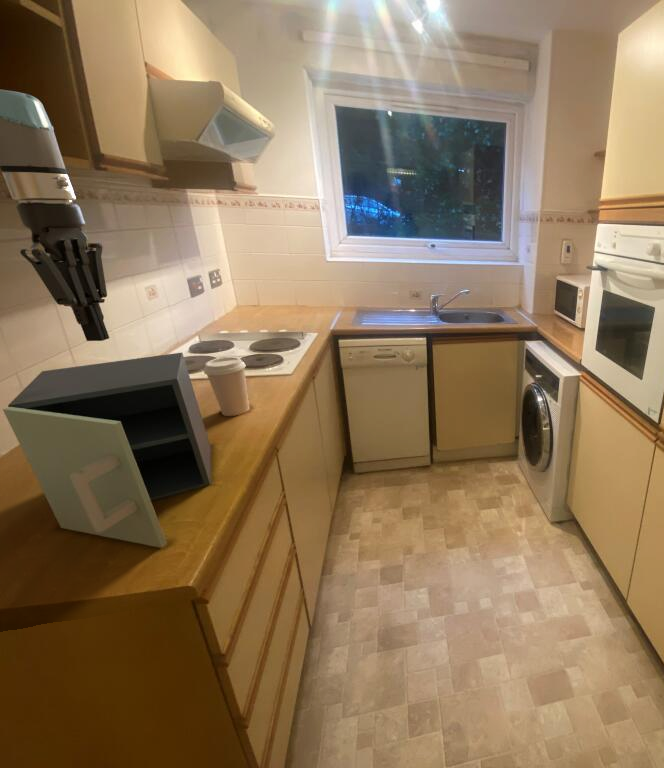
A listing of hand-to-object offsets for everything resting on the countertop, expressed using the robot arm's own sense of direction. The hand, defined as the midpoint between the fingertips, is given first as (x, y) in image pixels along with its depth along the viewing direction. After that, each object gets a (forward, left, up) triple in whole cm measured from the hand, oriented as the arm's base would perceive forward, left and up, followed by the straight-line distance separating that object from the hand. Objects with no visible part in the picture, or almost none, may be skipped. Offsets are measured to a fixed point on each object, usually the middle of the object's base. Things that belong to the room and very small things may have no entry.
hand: (98, 339), depth 81 cm
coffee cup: (+17, +26, -31) cm, 44 cm away
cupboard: (0, -2, -30) cm, 30 cm away
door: (-5, -22, -30) cm, 37 cm away
